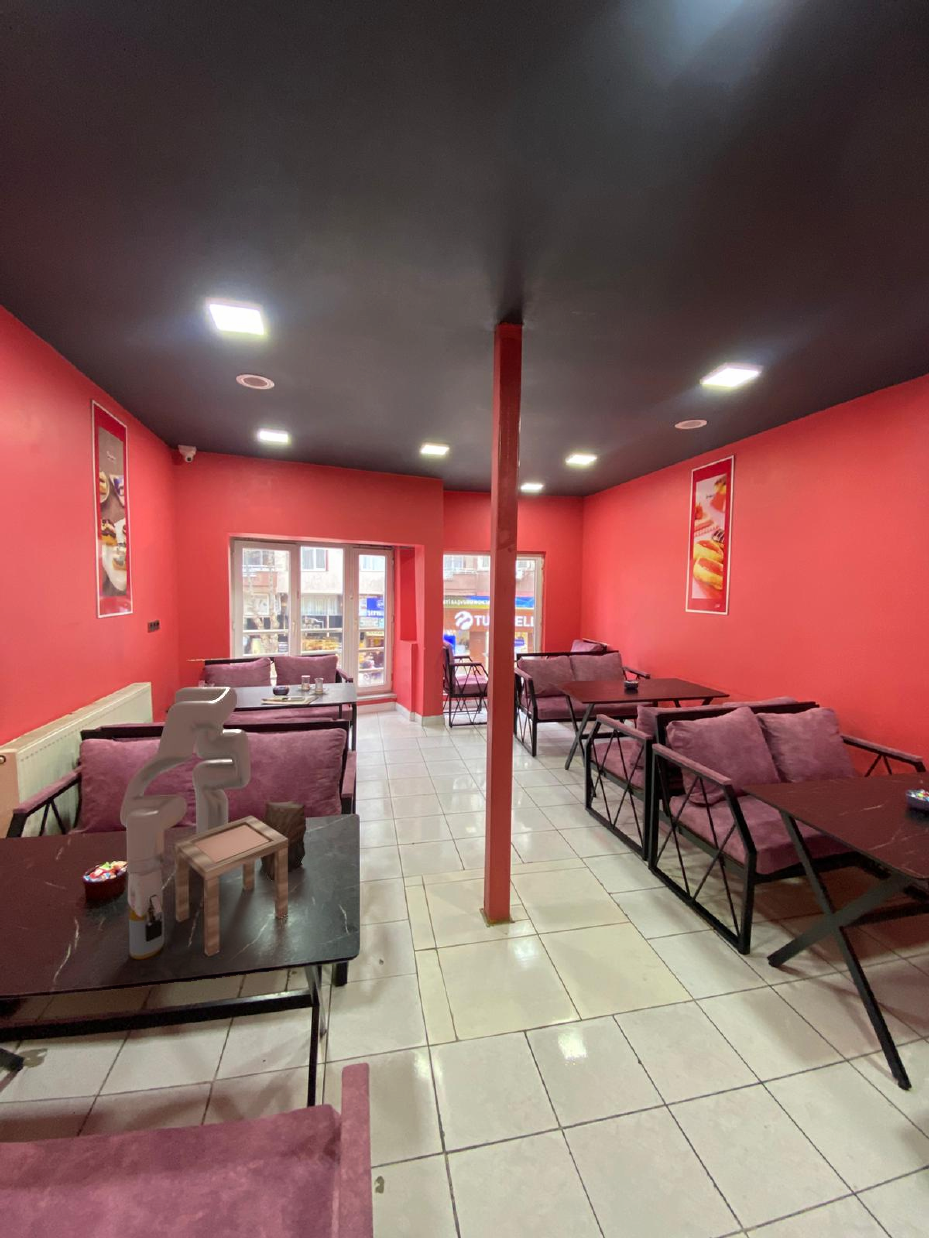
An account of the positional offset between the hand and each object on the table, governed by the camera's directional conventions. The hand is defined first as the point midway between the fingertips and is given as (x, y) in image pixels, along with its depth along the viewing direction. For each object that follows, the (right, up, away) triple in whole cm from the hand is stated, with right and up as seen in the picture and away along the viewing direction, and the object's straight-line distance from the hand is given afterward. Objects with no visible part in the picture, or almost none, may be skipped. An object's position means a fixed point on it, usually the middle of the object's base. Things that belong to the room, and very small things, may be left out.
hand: (147, 928), depth 116 cm
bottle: (0, -6, 0) cm, 6 cm away
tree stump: (+18, -4, +36) cm, 40 cm away
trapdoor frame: (+14, -5, +13) cm, 20 cm away
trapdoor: (+14, +14, +12) cm, 24 cm away
